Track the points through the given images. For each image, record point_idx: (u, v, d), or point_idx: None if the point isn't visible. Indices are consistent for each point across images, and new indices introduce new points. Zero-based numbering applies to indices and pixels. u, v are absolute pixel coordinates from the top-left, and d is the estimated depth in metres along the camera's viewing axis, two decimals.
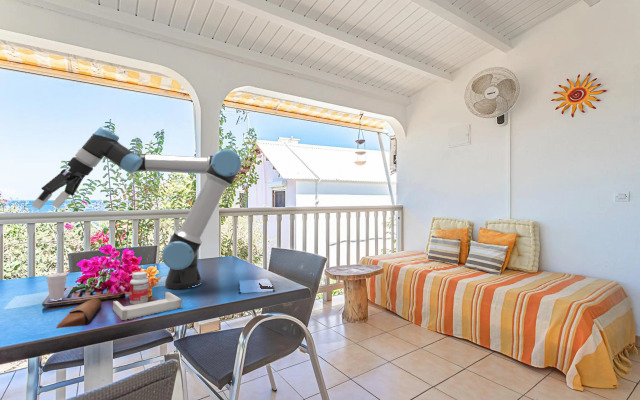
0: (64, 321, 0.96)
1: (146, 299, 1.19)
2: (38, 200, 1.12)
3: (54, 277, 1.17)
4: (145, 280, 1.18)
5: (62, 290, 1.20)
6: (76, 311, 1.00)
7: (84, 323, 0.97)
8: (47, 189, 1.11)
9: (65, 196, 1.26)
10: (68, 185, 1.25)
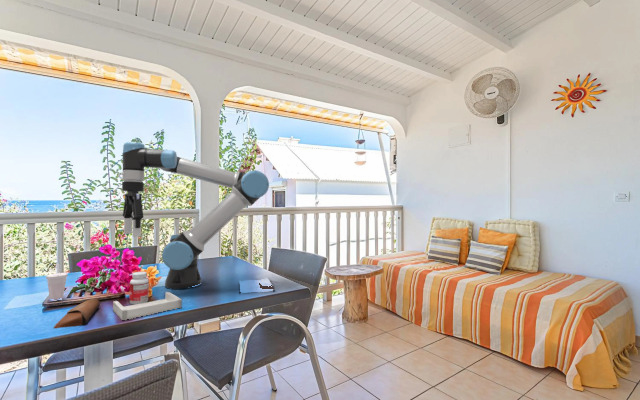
0: (61, 321, 0.96)
1: (146, 299, 1.19)
2: (135, 229, 1.22)
3: (54, 277, 1.17)
4: (145, 280, 1.18)
5: (62, 290, 1.20)
6: (74, 311, 1.00)
7: (81, 323, 0.97)
8: (140, 216, 1.21)
9: (130, 221, 1.32)
10: (128, 209, 1.30)
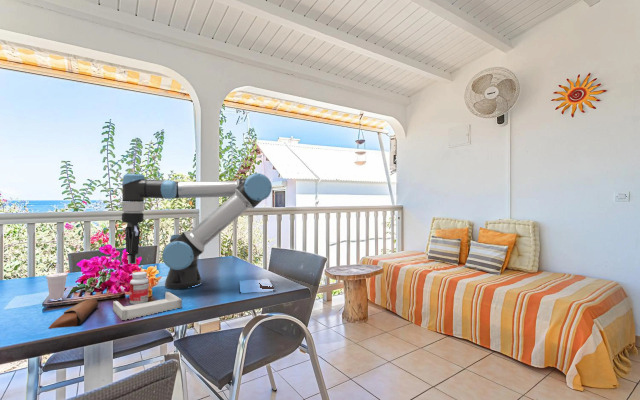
0: (57, 321, 0.96)
1: (146, 299, 1.19)
2: None
3: (54, 277, 1.17)
4: (145, 280, 1.18)
5: (62, 290, 1.20)
6: (70, 311, 1.00)
7: (76, 324, 0.96)
8: (135, 253, 1.25)
9: None
10: None
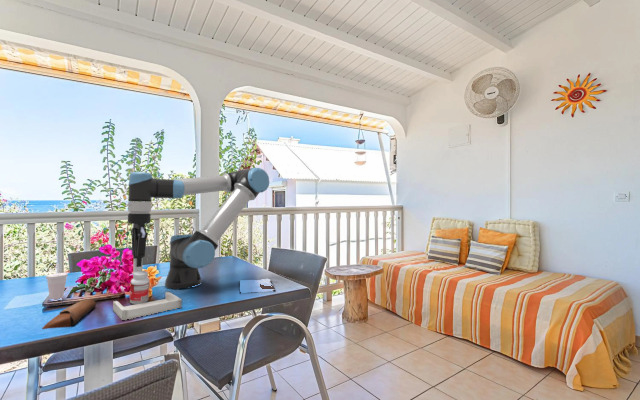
0: (51, 322, 0.95)
1: (146, 299, 1.19)
2: (136, 268, 1.19)
3: (54, 277, 1.17)
4: (146, 281, 1.18)
5: (62, 290, 1.20)
6: (65, 312, 1.00)
7: (70, 324, 0.95)
8: (142, 255, 1.18)
9: None
10: None
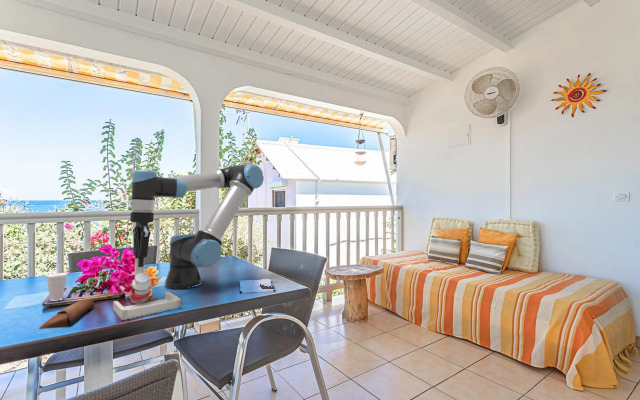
0: (48, 322, 0.95)
1: (146, 299, 1.18)
2: (138, 268, 1.16)
3: (54, 277, 1.17)
4: (147, 286, 1.15)
5: (62, 290, 1.20)
6: (62, 312, 0.99)
7: (66, 325, 0.95)
8: (144, 255, 1.15)
9: None
10: None
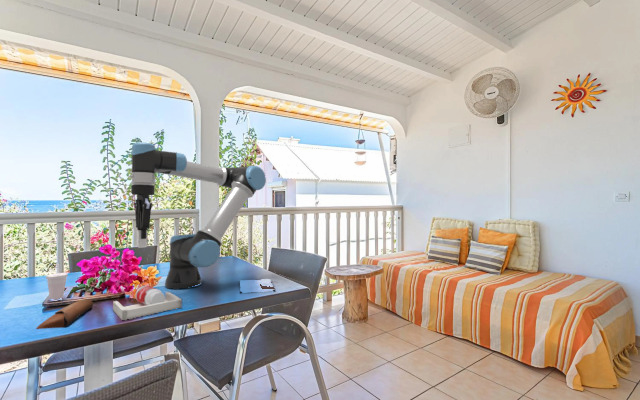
0: (45, 322, 0.95)
1: None
2: (141, 240, 1.18)
3: (54, 277, 1.17)
4: None
5: (62, 290, 1.20)
6: (60, 312, 0.99)
7: (63, 325, 0.95)
8: (146, 227, 1.16)
9: None
10: None
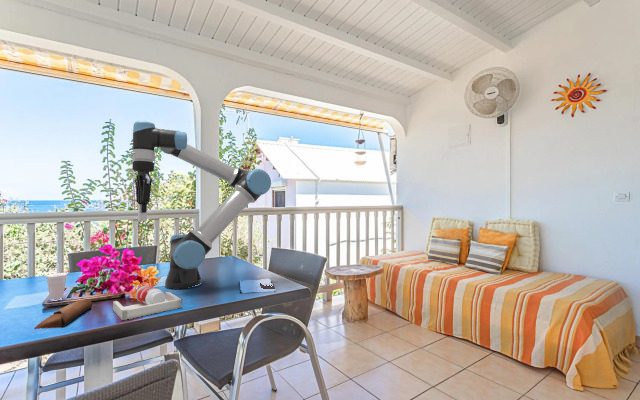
0: (43, 322, 0.95)
1: None
2: (141, 214, 1.24)
3: (54, 277, 1.17)
4: None
5: (62, 290, 1.20)
6: (58, 312, 0.99)
7: (61, 325, 0.95)
8: (146, 201, 1.23)
9: None
10: None
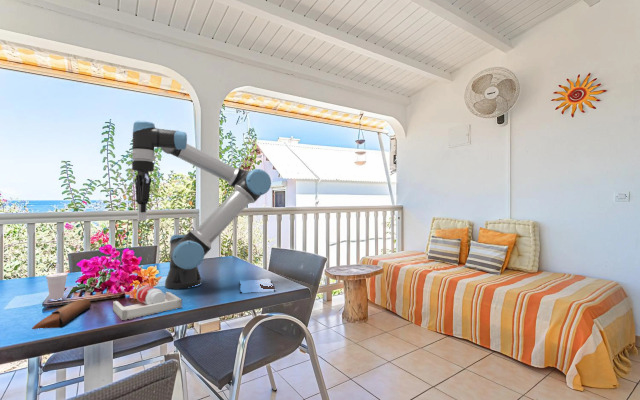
0: (41, 322, 0.95)
1: None
2: (141, 214, 1.24)
3: (54, 277, 1.17)
4: None
5: (62, 290, 1.20)
6: (56, 312, 0.99)
7: (58, 325, 0.95)
8: (146, 201, 1.23)
9: None
10: None
